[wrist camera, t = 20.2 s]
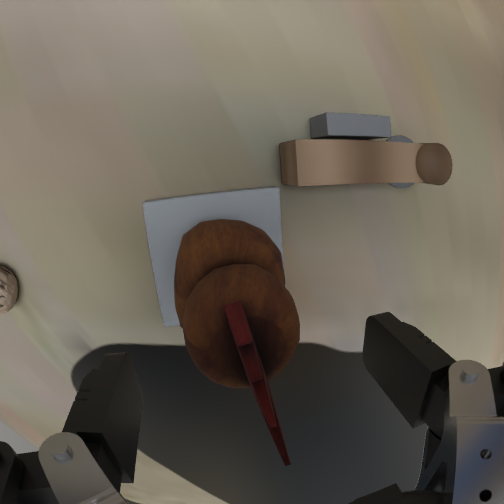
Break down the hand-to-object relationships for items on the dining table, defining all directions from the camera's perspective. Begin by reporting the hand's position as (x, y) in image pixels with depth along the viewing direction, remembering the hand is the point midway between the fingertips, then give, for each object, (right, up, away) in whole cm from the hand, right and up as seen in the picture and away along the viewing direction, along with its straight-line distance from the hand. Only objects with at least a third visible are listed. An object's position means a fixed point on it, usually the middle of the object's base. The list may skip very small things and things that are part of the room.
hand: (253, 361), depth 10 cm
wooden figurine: (-2, +3, +12) cm, 12 cm away
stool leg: (+8, +10, +12) cm, 18 cm away
